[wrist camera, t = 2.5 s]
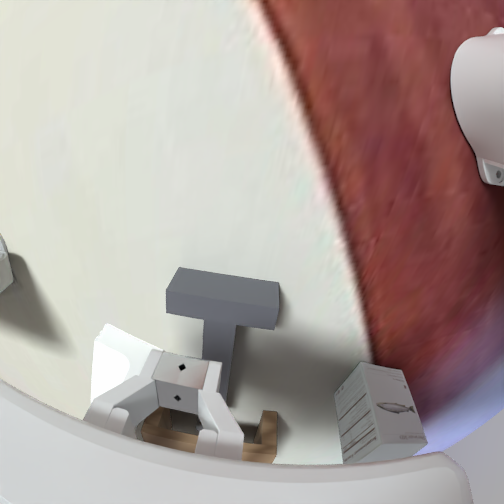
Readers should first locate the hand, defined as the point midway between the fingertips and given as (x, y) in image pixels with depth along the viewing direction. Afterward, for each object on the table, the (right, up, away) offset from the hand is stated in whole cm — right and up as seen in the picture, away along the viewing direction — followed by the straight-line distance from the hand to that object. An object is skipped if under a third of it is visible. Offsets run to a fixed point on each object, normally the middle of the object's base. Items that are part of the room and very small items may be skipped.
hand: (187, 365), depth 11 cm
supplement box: (+18, -13, +24) cm, 33 cm away
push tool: (-1, -6, +22) cm, 23 cm away
